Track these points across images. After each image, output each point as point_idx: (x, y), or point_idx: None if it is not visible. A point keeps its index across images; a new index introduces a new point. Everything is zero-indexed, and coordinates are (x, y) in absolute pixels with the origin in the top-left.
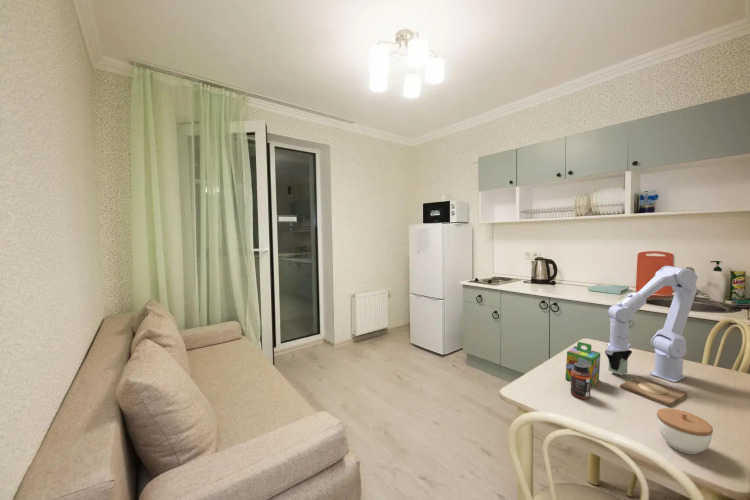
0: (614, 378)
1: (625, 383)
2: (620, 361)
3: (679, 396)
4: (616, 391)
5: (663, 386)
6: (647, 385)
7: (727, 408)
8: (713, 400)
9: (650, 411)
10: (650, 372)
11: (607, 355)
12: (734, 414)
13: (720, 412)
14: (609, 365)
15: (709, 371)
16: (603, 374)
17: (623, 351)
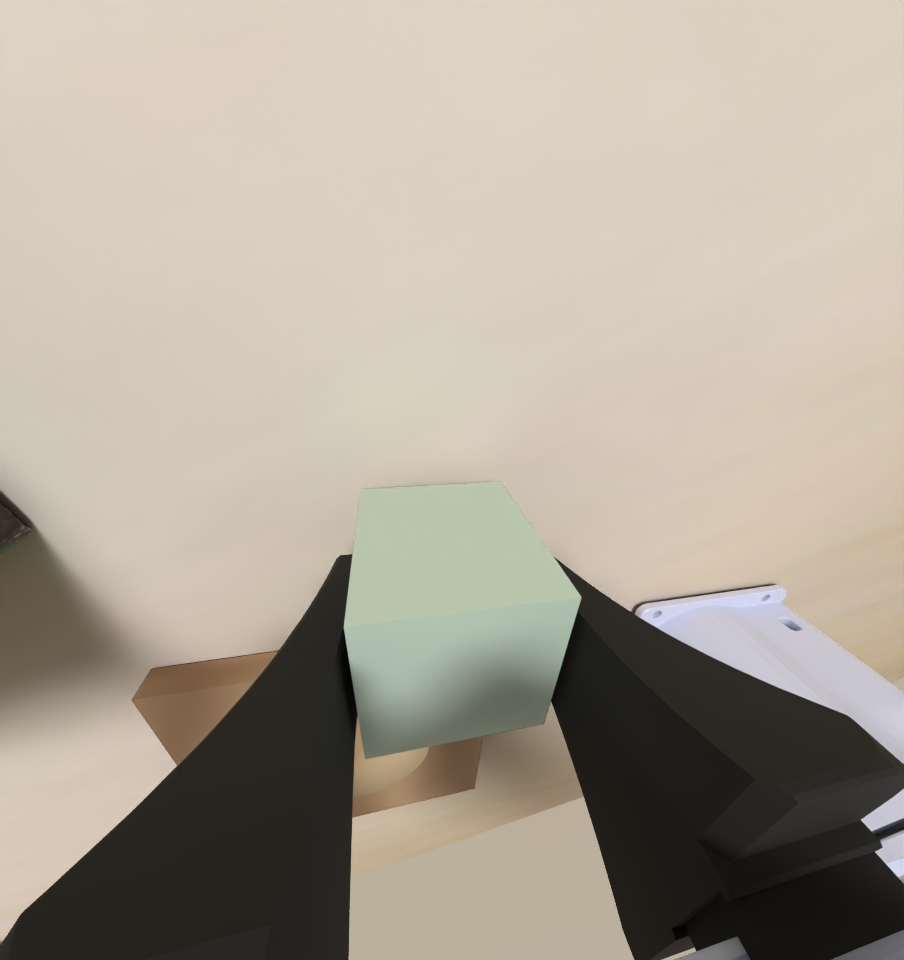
0: (299, 558)
1: (218, 694)
2: (419, 725)
3: (389, 805)
4: (44, 694)
5: (451, 746)
6: (358, 740)
7: (482, 816)
8: (518, 786)
9: (63, 839)
10: (658, 609)
11: (129, 843)
12: (448, 836)
13: (420, 831)
14: (356, 544)
15: (860, 656)
16: (274, 462)
17: (659, 894)
